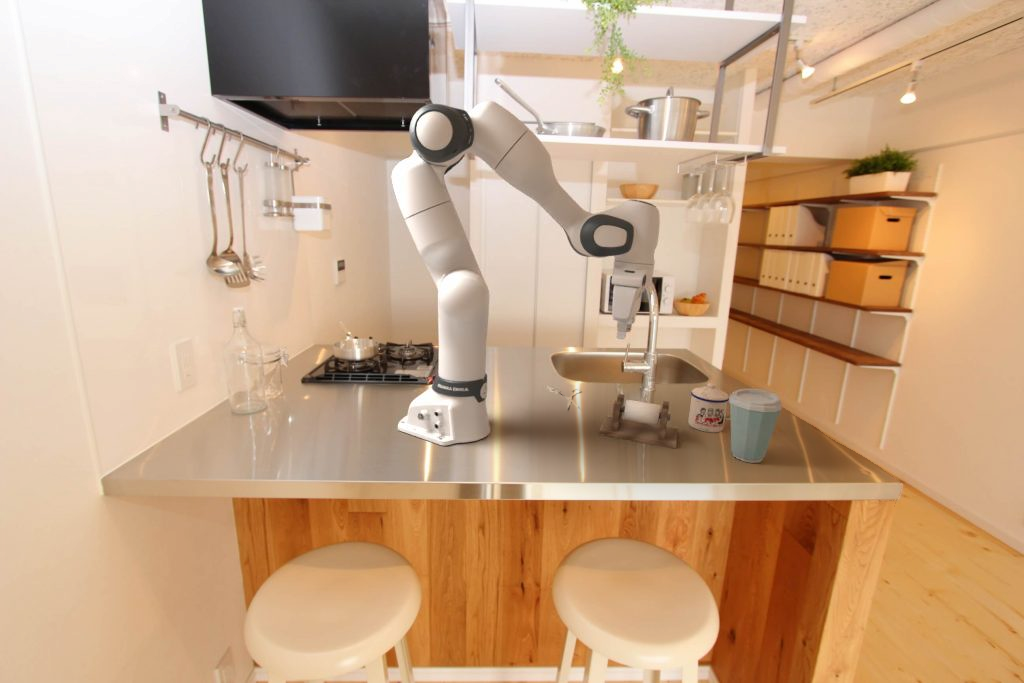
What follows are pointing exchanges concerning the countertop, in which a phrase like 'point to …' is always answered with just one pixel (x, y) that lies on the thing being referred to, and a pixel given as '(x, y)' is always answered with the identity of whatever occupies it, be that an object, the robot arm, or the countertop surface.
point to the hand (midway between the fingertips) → (623, 335)
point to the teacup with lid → (708, 408)
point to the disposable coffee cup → (752, 422)
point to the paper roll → (642, 412)
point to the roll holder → (639, 427)
